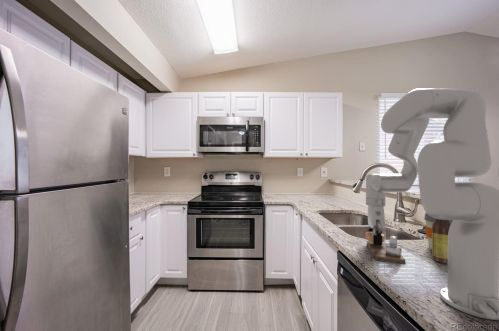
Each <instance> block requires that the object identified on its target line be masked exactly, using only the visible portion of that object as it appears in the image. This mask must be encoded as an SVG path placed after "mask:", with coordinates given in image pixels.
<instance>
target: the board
mask: <svg viewBox="0 0 499 331" xmlns="http://www.w3.org/2000/svg"><path fill="white" fill-rule="evenodd" d="M366 245H367V247H368V249H369V250H370V251H371V252H370V253H372V256H373V257H374V258H375V261H379V262H380V261H381V262H388V263H395V264H396V263H397V264H406V259H405V257H404V256H403V255H402V254H401V257H399V258H395V257H390V256H388V255H386V245H390V242H388V243H387V242H382V246H372V245H369V241H368V240H366Z"/></svg>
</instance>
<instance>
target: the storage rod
mask: <svg viewBox="0 0 499 331" xmlns="http://www.w3.org/2000/svg"><path fill="white" fill-rule="evenodd" d="M389 243H390V245H386V255H388V256H390V257H395V258H399V257H401V255H402V248H401V247H400V246H398V236H394V235H390V236H389Z"/></svg>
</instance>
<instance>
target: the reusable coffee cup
mask: <svg viewBox="0 0 499 331" xmlns="http://www.w3.org/2000/svg"><path fill="white" fill-rule="evenodd" d="M423 219H424V220H425V226H424V228H425V235H426V237H427V244H428V248H429V249H430V250H432V224H433V223H434V222H435V220H436V218H433V217H431V216H430V215H428V214H427V213H426V212H425V213H424V218H423ZM452 221H453V220H449V222H450V225H451V223H452Z"/></svg>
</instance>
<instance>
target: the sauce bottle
mask: <svg viewBox="0 0 499 331" xmlns="http://www.w3.org/2000/svg"><path fill="white" fill-rule="evenodd" d="M450 226H451V225H450V222H449V220H440V219H436V220H435V222H434V223H433V224H432V249H431V252H432V254H431V255H432V258H433V260H434V261H436V262H438V263H442V264H448V232H449V228H450Z"/></svg>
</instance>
